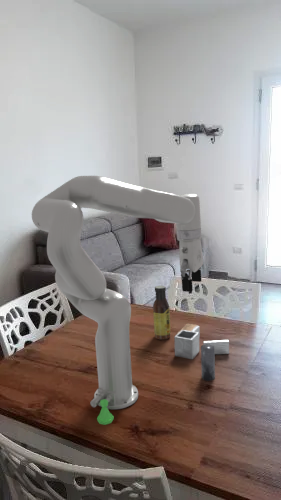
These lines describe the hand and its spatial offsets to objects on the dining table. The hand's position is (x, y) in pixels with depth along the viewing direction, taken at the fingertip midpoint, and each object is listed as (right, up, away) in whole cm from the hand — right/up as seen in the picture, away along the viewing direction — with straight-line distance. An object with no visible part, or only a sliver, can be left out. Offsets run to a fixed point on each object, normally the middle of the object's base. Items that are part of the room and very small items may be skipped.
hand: (192, 286), depth 130 cm
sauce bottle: (-8, -22, +25) cm, 34 cm away
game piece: (-26, -33, -24) cm, 48 cm away
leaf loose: (+9, -24, +8) cm, 27 cm away
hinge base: (+1, -23, +16) cm, 28 cm away
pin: (+4, -27, -6) cm, 28 cm away
